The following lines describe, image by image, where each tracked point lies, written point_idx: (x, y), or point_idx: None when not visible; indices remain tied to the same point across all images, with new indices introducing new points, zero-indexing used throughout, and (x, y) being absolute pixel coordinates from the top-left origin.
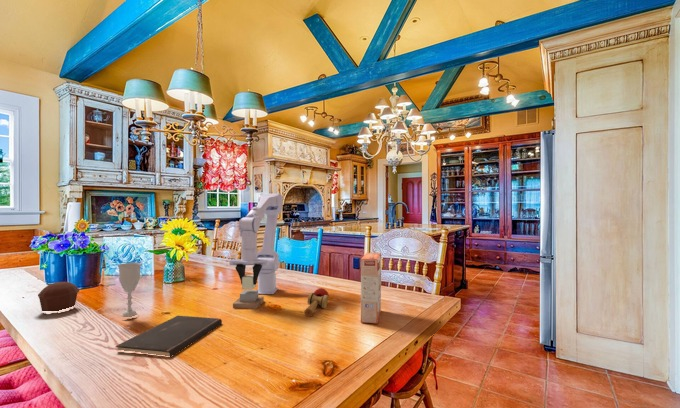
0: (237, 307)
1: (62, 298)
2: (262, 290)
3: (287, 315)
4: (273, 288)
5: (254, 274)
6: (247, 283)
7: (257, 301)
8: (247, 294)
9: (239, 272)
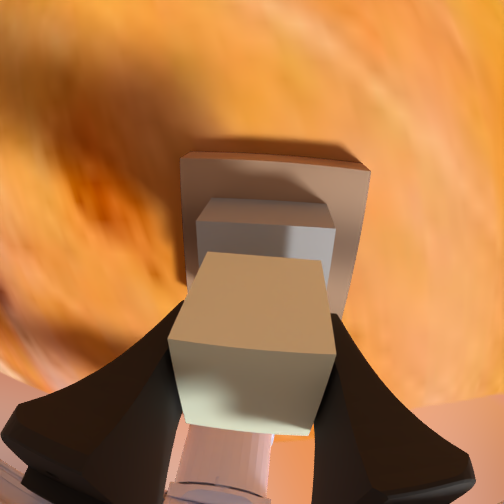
0: (331, 160)
1: None
2: None
3: (20, 66)
4: None
5: (133, 374)
6: (256, 291)
7: (193, 209)
8: (261, 222)
9: (389, 419)
